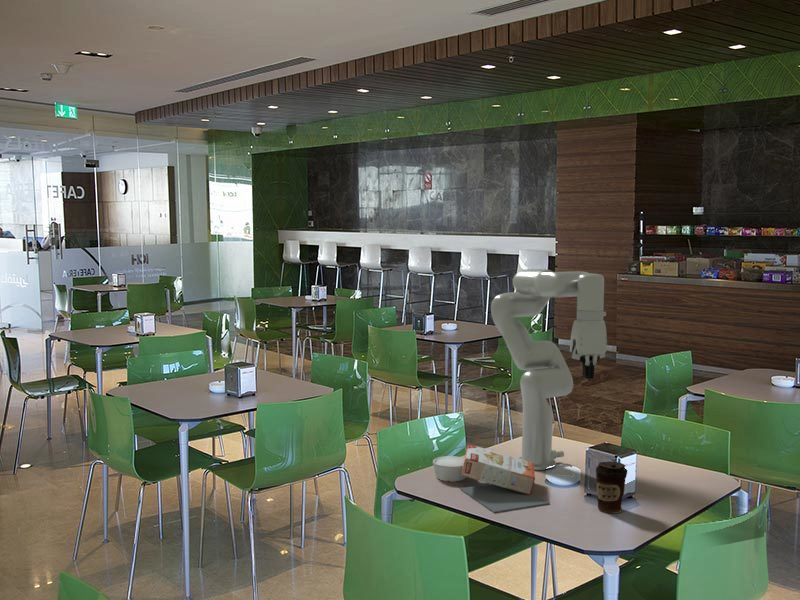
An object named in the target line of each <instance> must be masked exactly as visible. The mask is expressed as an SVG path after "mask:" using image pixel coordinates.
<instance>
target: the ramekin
mask: <svg viewBox="0 0 800 600" xmlns="http://www.w3.org/2000/svg"><path fill="white" fill-rule="evenodd" d="M464 459H465V457H461V456H455V455H446V456H445V455H444V456H438V457H436V458H434V459H433V461H432V465H433V468H434V469H433V470H434V474H435V475H434V476H435V478H437V479H438V480H439V479H440V480H439V481H442V480H443V481H442V482H447V481H450V482H449V483H454V482H456V481H457V482H462V481H463V479H464V480H465V479H466V478H467V477H466V476H462V469H463V462H464Z"/></svg>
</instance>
